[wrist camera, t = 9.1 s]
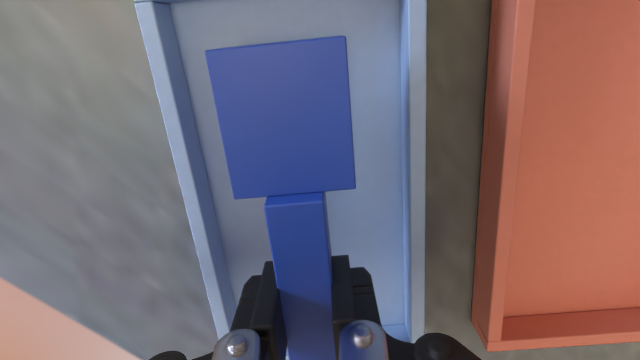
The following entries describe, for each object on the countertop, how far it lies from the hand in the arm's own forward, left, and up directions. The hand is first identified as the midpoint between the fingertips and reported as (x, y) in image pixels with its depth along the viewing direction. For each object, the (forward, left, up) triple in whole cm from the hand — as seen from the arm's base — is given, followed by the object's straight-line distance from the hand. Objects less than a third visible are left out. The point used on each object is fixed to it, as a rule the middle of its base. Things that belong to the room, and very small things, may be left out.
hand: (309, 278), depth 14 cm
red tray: (-3, +12, -3) cm, 13 cm away
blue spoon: (-3, 0, 0) cm, 3 cm away
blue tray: (-3, 0, -3) cm, 4 cm away
